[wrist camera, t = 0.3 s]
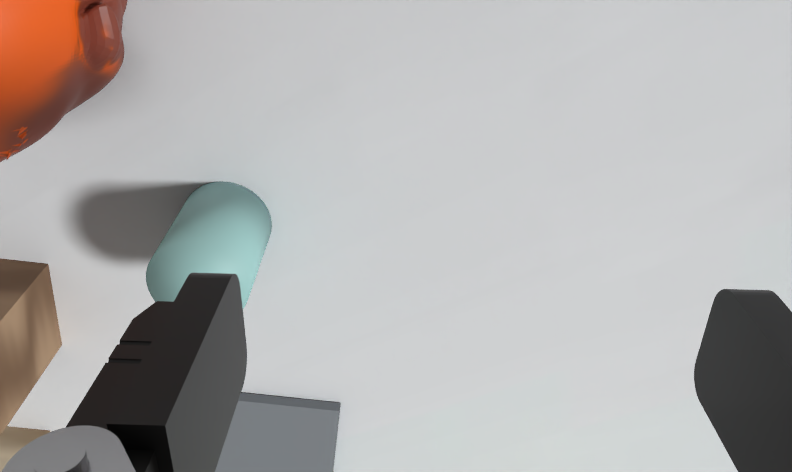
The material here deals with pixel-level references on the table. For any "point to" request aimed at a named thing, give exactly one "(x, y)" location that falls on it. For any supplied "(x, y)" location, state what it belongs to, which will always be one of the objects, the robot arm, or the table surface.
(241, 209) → the teal cylinder
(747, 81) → the table surface
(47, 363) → the walnut block
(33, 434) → the beech block
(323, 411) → the mat
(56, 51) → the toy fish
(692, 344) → the table surface
